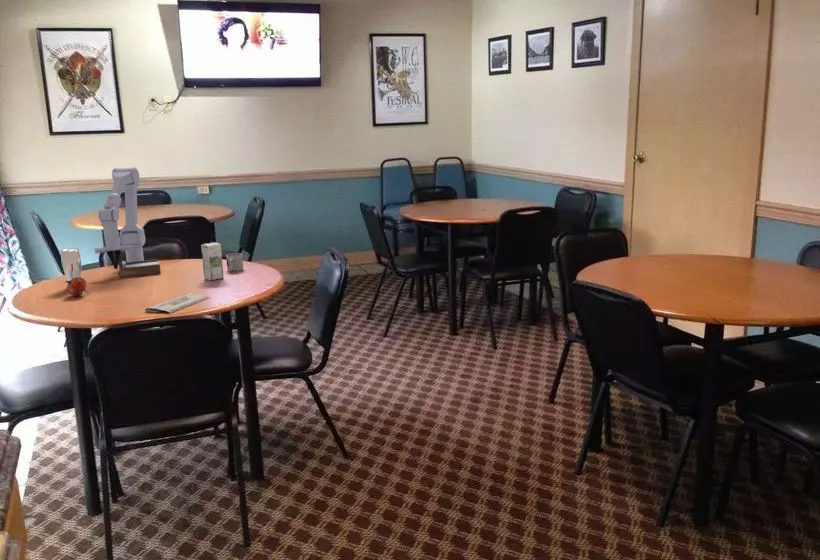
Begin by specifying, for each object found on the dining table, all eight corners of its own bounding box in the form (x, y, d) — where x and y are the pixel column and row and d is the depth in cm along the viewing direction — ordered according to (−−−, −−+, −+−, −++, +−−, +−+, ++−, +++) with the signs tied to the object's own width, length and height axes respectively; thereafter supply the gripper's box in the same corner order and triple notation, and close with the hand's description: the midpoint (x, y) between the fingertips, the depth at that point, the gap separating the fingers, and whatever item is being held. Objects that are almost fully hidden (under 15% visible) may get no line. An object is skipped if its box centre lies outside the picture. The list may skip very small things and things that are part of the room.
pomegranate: (84, 298, 274) (59, 286, 268) (94, 282, 274) (70, 270, 268) (86, 304, 268) (60, 292, 262) (97, 288, 268) (72, 275, 262)
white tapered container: (72, 285, 287) (66, 248, 284) (88, 285, 286) (82, 248, 283) (61, 289, 280) (56, 251, 277) (78, 289, 279) (72, 251, 276)
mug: (230, 268, 308) (228, 253, 306) (245, 268, 307) (243, 253, 306) (223, 273, 298) (221, 258, 296) (238, 273, 298) (237, 257, 296)
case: (119, 272, 309) (118, 263, 308) (158, 268, 315) (157, 259, 314) (120, 277, 297) (119, 268, 296) (160, 273, 303) (159, 264, 302)
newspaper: (182, 297, 261) (182, 291, 261) (210, 302, 257) (210, 296, 257) (138, 313, 241) (138, 306, 240) (168, 319, 237) (168, 312, 236)
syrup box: (216, 276, 292) (213, 241, 289) (224, 278, 288) (220, 243, 285) (204, 279, 288) (200, 243, 285) (211, 281, 284) (207, 245, 281)
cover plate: (122, 267, 308) (121, 260, 307) (158, 263, 313) (157, 256, 313) (122, 271, 298) (121, 265, 297) (160, 267, 304) (159, 260, 303)
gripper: (92, 239, 293) (97, 272, 296) (130, 236, 298) (134, 268, 301) (93, 237, 299) (97, 269, 302) (129, 234, 304) (134, 265, 307)
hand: (116, 268), depth 302 cm, fingers closed
